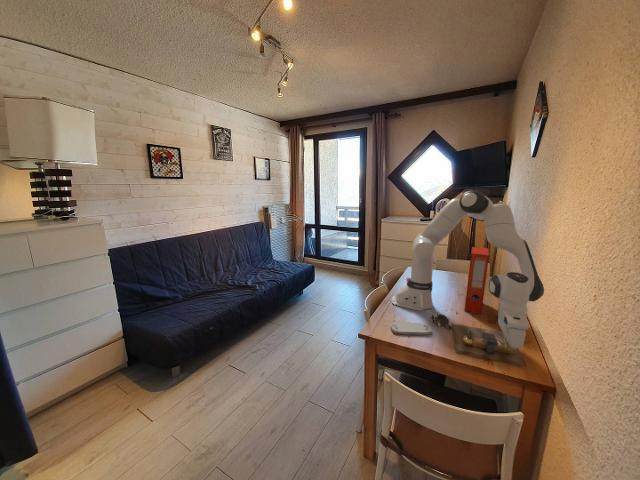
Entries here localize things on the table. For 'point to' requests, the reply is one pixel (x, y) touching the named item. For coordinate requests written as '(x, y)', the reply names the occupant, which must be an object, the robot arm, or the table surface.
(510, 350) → the brass link
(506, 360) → the walnut base plate
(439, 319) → the eagle figurine
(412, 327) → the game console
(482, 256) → the file binder
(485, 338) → the keeper hook
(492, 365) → the table surface
